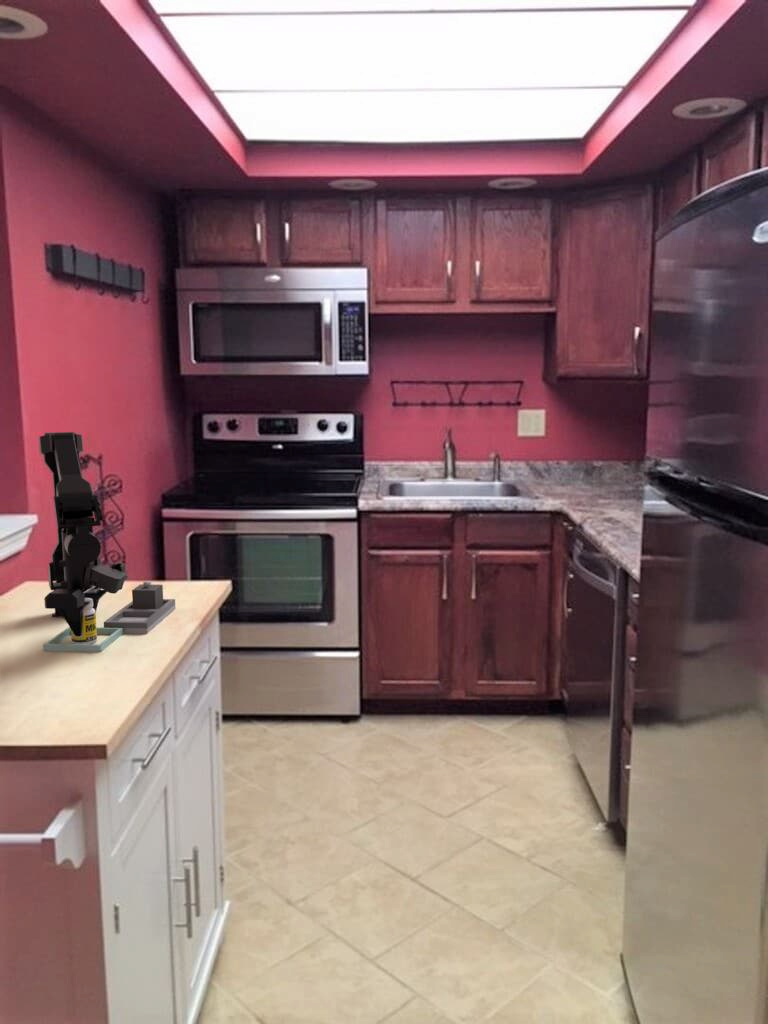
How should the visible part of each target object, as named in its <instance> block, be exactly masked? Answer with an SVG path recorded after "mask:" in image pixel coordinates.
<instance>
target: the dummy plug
mask: <svg viewBox="0 0 768 1024" xmlns="http://www.w3.org/2000/svg"><path fill="white" fill-rule="evenodd" d="M142 582H143V584H139V585H137V586H136V587H134V588H133V589H132V590H131V593H132V597H131V598H132V601H133V609H159V608H161V607H162V606H163V605H164V604H163V599H164V590H163V589H164V587H163V586H164V585H163V584H152V581H151V580H145V581H142Z"/></svg>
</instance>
